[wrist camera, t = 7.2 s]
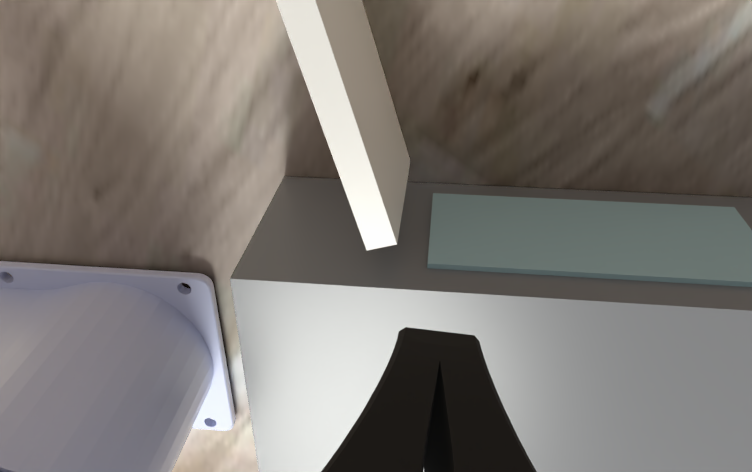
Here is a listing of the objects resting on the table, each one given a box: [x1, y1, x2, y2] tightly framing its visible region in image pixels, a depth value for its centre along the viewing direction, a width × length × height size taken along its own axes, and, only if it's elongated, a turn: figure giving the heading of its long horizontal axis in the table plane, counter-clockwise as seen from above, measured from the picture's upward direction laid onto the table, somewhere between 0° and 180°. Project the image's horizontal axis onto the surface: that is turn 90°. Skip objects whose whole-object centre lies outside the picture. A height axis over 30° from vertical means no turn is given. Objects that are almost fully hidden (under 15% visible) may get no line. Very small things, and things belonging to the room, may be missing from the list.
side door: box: [276, 0, 410, 250], centre depth 16 cm, size 10×2×5 cm, turn 17°
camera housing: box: [230, 176, 752, 472], centre depth 21 cm, size 20×12×6 cm, turn 90°
